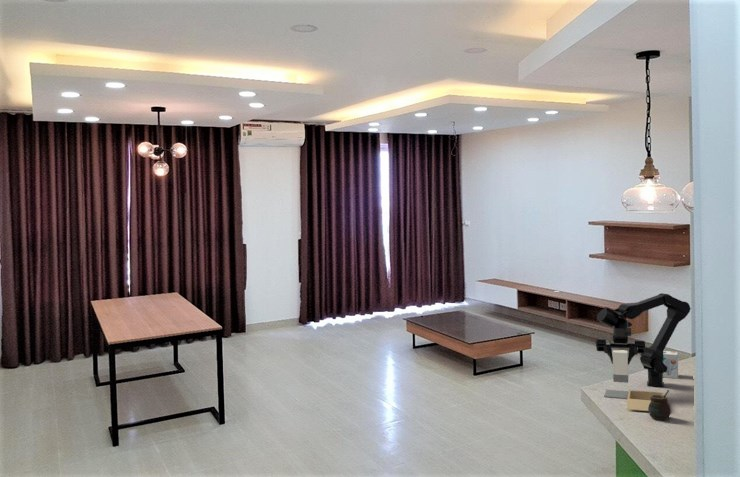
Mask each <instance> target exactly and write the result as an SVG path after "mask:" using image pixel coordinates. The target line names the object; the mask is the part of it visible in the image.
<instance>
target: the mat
mask: <svg viewBox="0 0 740 477" xmlns="http://www.w3.org/2000/svg"><path fill="white" fill-rule="evenodd" d="M628 393H629V390H616V389H615V390H614V389H605V392H604V396H603V397H604V398H613V399H621V400H622V399H623V400H627V398H628Z"/></svg>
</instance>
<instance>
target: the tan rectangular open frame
mask: <svg viewBox="0 0 740 477" xmlns="http://www.w3.org/2000/svg"><path fill="white" fill-rule="evenodd" d="M628 391H629V393H628V398H627V399H626V409H627V410H629V411H630V410H631V411H640V412H642V411H643V412H649V411H648V407H649V404H650V402H651V395H664V393H663V392H658V391H647V390H636V389H635V390H634V389H632V390H631V389H629V390H628Z"/></svg>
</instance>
